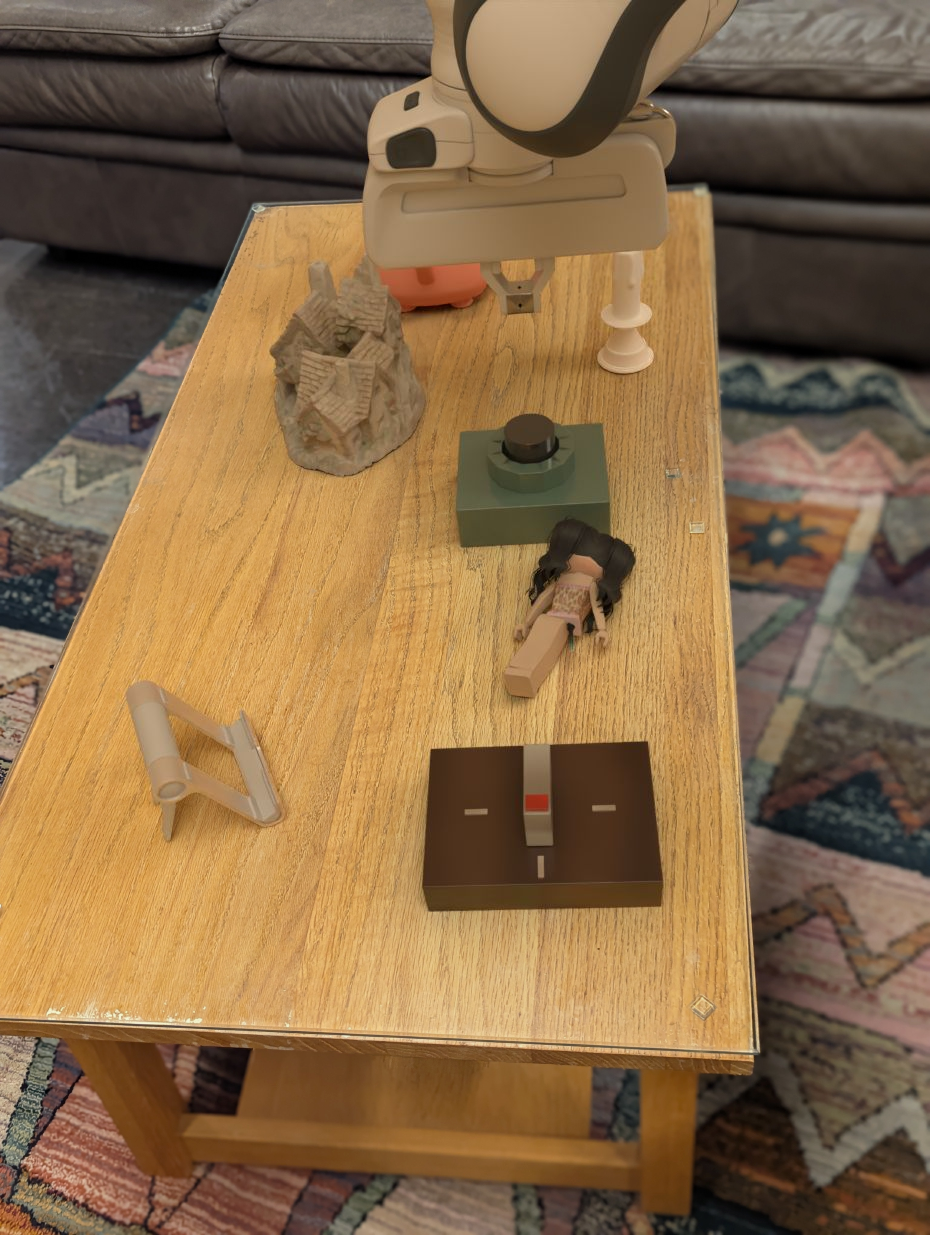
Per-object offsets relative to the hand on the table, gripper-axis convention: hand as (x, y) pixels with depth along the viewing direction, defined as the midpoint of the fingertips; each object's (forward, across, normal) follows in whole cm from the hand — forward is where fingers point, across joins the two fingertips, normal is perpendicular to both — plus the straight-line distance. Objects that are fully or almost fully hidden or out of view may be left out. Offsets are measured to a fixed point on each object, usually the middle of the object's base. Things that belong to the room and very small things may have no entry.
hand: (520, 309), depth 77 cm
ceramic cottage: (+18, +18, -14) cm, 29 cm away
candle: (+18, -9, -20) cm, 29 cm away
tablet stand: (+18, +22, +28) cm, 40 cm away
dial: (+15, 0, +32) cm, 35 cm away
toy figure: (+18, -2, +14) cm, 23 cm away
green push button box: (+18, 0, 0) cm, 18 cm away
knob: (+12, 0, 0) cm, 12 cm away
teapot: (+18, +10, -36) cm, 42 cm away
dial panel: (+18, 0, +32) cm, 37 cm away
